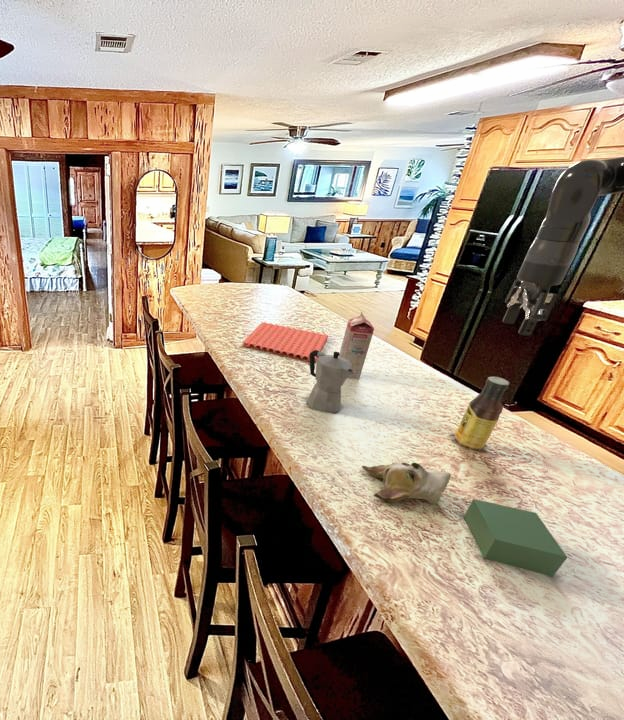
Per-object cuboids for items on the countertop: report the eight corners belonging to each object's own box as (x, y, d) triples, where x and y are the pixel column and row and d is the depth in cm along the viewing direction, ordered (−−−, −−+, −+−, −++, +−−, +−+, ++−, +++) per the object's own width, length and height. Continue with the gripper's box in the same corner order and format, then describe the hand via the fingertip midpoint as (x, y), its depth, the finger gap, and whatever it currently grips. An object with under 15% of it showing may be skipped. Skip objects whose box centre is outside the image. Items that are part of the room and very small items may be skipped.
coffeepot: (352, 414, 113) (369, 358, 105) (328, 421, 109) (344, 364, 101) (312, 389, 125) (324, 338, 117) (290, 394, 122) (301, 342, 114)
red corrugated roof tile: (315, 363, 142) (316, 358, 141) (241, 346, 155) (242, 341, 154) (327, 339, 164) (328, 334, 163) (261, 325, 177) (262, 321, 176)
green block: (522, 534, 76) (536, 512, 73) (550, 580, 67) (567, 557, 64) (461, 520, 78) (473, 498, 76) (481, 562, 70) (495, 539, 67)
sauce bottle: (455, 435, 104) (485, 370, 95) (484, 447, 100) (518, 380, 91) (448, 445, 100) (479, 378, 92) (478, 457, 96) (513, 389, 87)
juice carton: (338, 376, 133) (354, 316, 124) (335, 368, 139) (350, 310, 130) (359, 379, 132) (377, 318, 122) (355, 371, 137) (372, 312, 128)
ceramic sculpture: (466, 485, 75) (380, 476, 78) (453, 518, 78) (371, 507, 82) (441, 451, 84) (366, 444, 88) (430, 482, 88) (358, 474, 91)
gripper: (588, 269, 79) (550, 341, 86) (551, 256, 91) (520, 321, 98) (542, 265, 81) (509, 336, 88) (512, 253, 93) (485, 317, 100)
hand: (515, 328), depth 93 cm, fingers open, 8 cm apart
